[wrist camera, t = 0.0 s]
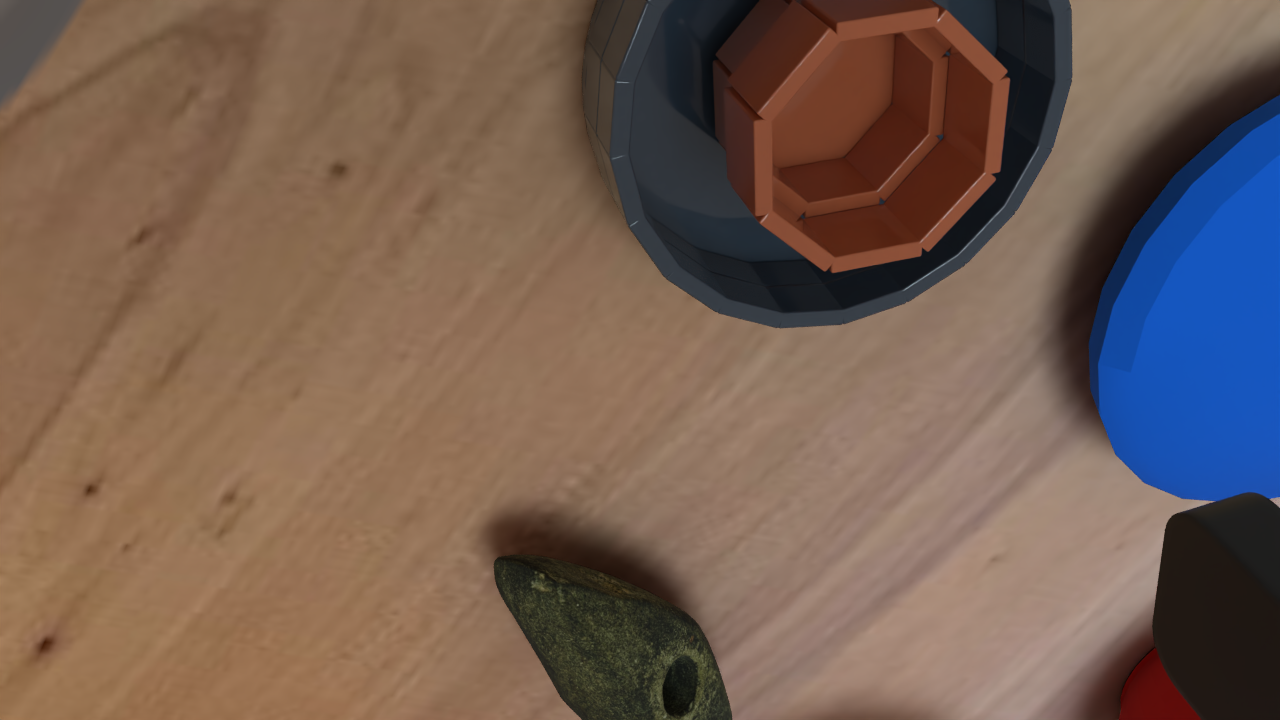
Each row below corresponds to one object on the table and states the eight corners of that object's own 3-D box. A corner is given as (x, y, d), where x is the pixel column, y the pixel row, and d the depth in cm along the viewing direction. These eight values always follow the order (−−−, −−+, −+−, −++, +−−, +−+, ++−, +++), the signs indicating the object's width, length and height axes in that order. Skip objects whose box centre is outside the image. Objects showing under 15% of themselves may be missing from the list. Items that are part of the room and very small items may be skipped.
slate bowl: (488, 120, 31) (509, 175, 28) (800, -285, 27) (860, -271, 24) (798, 334, 37) (841, 396, 34) (1083, 24, 33) (1158, 64, 31)
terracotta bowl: (645, 102, 31) (700, 180, 27) (807, -96, 29) (892, -46, 25) (804, 224, 34) (875, 310, 30) (958, 51, 32) (1055, 117, 28)
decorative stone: (787, 561, 42) (841, 665, 38) (689, 710, 45) (729, 822, 41) (501, 494, 37) (528, 606, 33) (413, 666, 40) (428, 787, 36)
